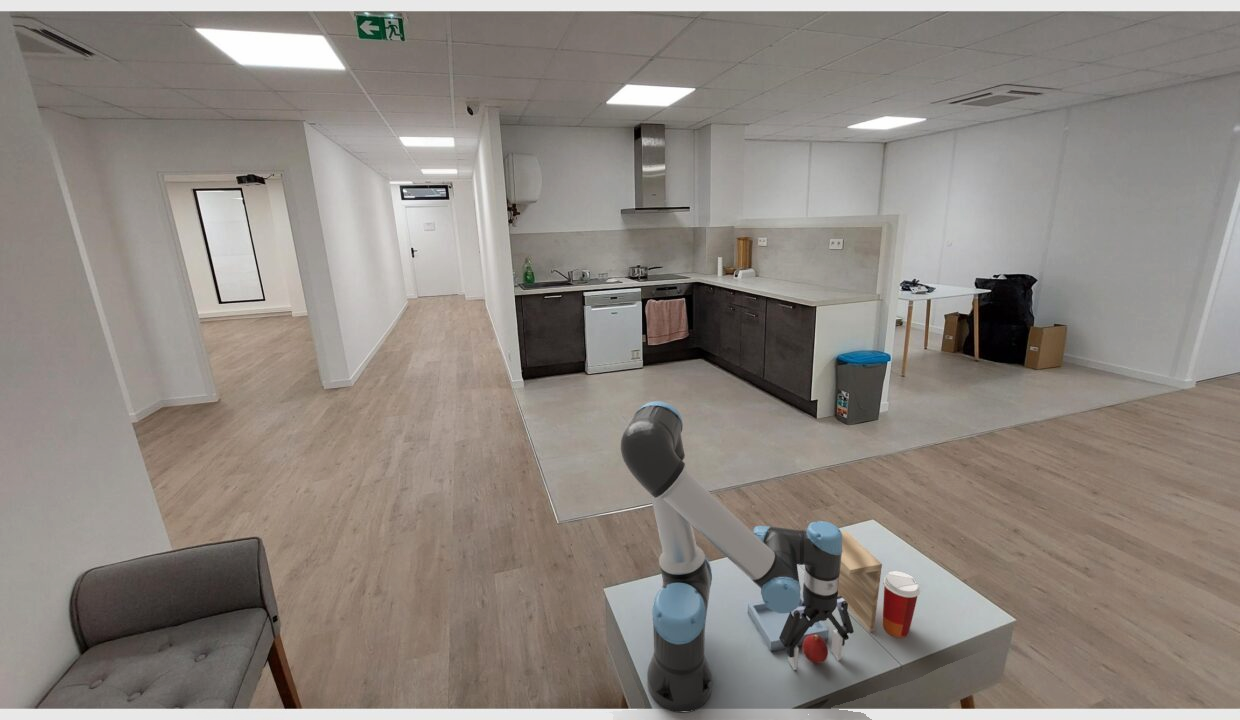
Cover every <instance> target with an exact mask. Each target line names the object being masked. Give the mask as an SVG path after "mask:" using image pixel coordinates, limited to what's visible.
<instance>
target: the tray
mask: <svg viewBox="0 0 1240 720" xmlns="http://www.w3.org/2000/svg"><path fill="white" fill-rule="evenodd" d="M803 601H804V600H803V594H802V593H800V603H799V606H798V607H801V605H802V604H803ZM747 614H748V616H749V618H750V620H751V621H752V622H753V624H754V626H755V627H756V629H757V632H758V633H759V634H760V636H761V638H762V640H763V641H764V643H765V644H766V646H767V649H768V650H769V651H770V652H773V651H778V650H784V649H786V648H785V647H784V645H783V644H782V642H781V641H780V639H779V637H780V635H781V632H782V630H783V628H784V625H785V623H786V621H787V618H788V616H789V614H790V612H789V613H777V612H774V611H772V610H770V609H769V608H768V607H767V606H766V605H765V603H764V601H763V600H761V601H755V602H751V603H747ZM806 617H807V616H806ZM807 618H808V617H807ZM808 620H810V619H809V618H808ZM809 635H818V636H820V637H821V638H822V639H823V640H824V641H825V640H828V639H829V629H828V627H827V626H826V624H825V623H824V622H823V621H819V622H815V623H814V625H813V626H812V627H809V628H808V630H807V631H806V633H805V634H804V635H803V637H802V638H801V640H800V641H799V642H798V644H797V646H802V645H803V642H804V639H805V638H806V637H807V636H809Z"/></svg>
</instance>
